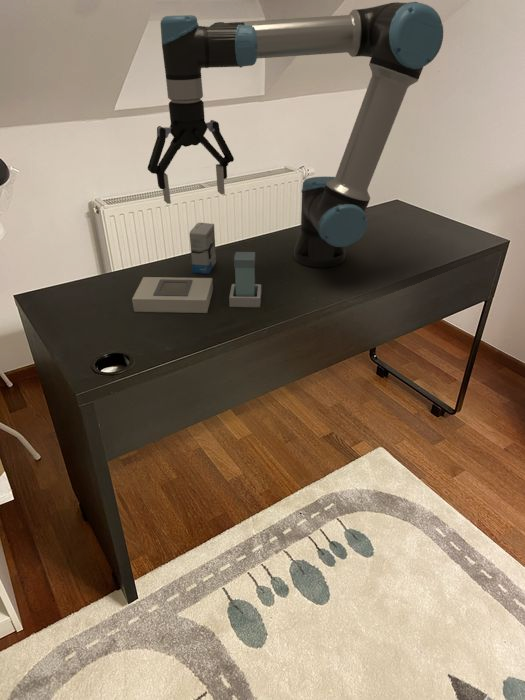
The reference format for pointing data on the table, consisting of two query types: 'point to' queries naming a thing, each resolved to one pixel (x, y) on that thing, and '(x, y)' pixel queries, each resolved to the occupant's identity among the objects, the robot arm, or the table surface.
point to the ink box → (203, 248)
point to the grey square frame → (245, 298)
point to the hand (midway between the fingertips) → (194, 197)
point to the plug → (245, 274)
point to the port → (173, 295)
